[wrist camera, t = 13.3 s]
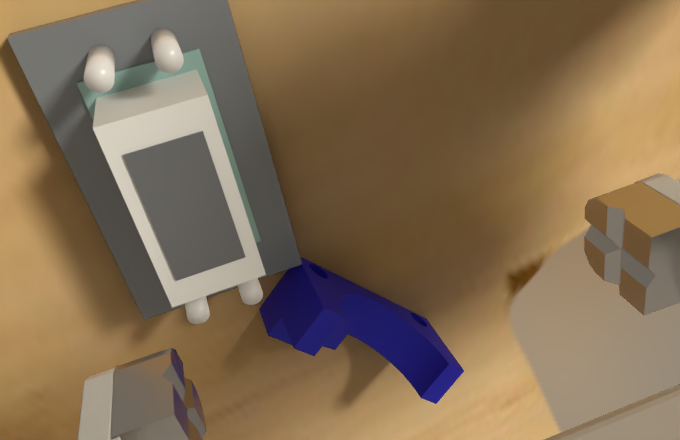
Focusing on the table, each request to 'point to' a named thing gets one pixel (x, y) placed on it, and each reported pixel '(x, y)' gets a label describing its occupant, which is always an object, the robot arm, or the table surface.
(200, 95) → the block
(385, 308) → the cable clip
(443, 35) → the table surface
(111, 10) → the pin tray
